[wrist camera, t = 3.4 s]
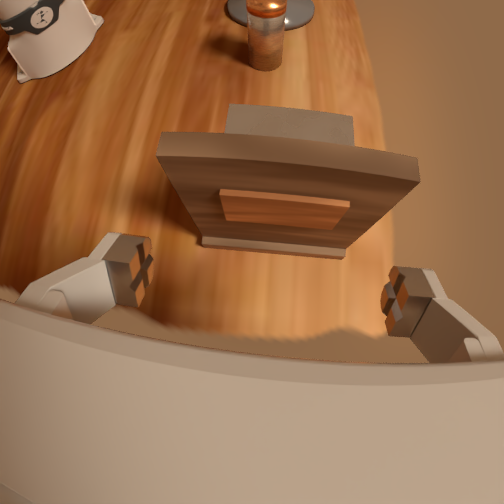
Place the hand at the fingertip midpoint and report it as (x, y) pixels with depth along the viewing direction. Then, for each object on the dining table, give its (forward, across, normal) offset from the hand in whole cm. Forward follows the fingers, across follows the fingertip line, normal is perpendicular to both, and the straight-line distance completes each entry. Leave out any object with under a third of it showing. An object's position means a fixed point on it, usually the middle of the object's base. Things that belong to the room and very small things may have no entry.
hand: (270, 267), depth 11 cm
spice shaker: (+38, +3, -6) cm, 38 cm away
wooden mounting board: (+21, -1, +9) cm, 23 cm away
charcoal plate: (+48, +3, -16) cm, 51 cm away
